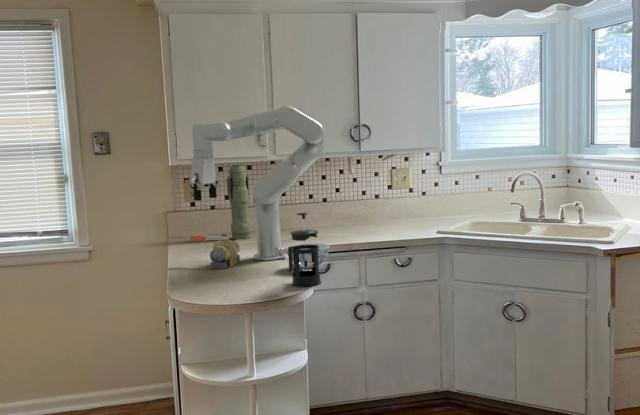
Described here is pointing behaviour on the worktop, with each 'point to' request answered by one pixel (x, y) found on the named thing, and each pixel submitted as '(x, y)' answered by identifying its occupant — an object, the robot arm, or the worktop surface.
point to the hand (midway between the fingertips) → (205, 199)
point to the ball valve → (224, 254)
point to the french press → (305, 276)
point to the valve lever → (209, 237)
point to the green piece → (239, 201)
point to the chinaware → (321, 254)
